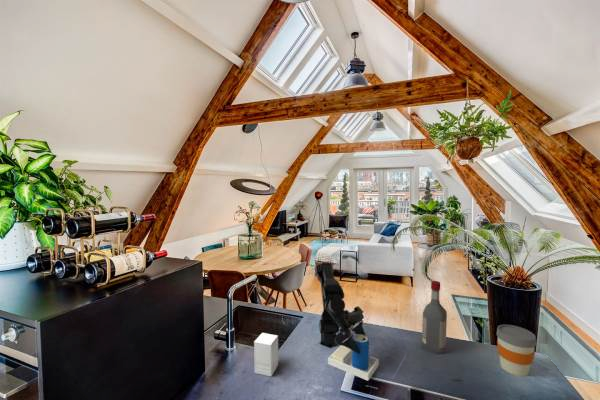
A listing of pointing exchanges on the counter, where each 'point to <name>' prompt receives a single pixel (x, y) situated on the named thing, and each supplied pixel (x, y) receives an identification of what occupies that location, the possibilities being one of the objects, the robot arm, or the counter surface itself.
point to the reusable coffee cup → (515, 349)
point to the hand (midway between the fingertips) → (363, 347)
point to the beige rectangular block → (343, 354)
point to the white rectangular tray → (350, 369)
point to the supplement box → (266, 354)
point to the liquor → (434, 323)
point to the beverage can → (361, 359)
